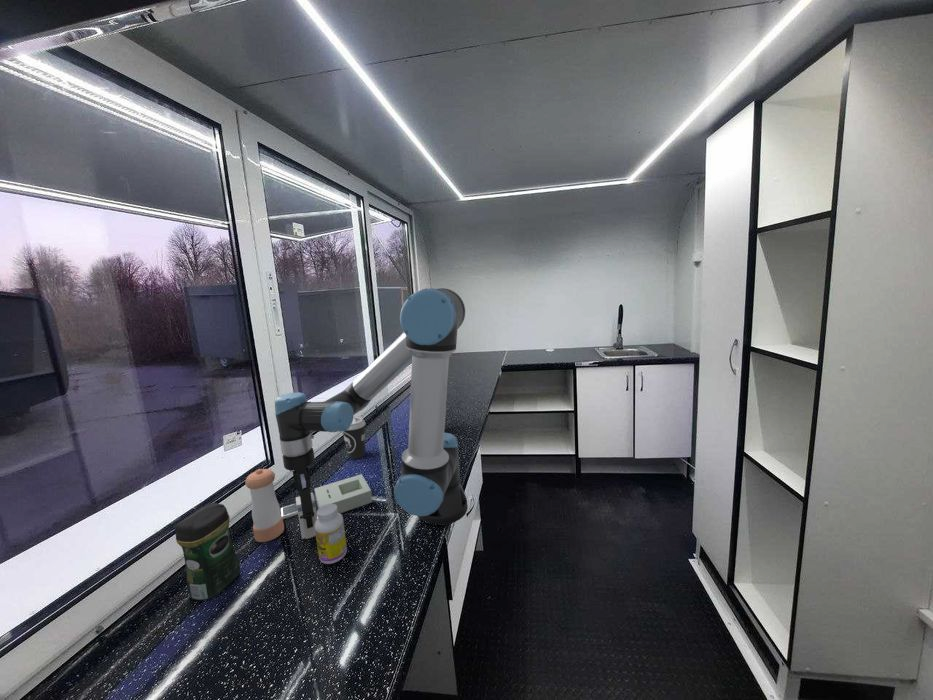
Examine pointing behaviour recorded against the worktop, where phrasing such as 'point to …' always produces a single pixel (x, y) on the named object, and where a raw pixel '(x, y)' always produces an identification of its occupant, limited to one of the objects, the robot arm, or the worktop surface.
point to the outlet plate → (344, 494)
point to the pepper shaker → (264, 506)
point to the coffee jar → (207, 551)
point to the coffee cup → (355, 438)
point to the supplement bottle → (330, 534)
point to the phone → (289, 511)
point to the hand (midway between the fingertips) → (309, 526)
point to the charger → (300, 513)
